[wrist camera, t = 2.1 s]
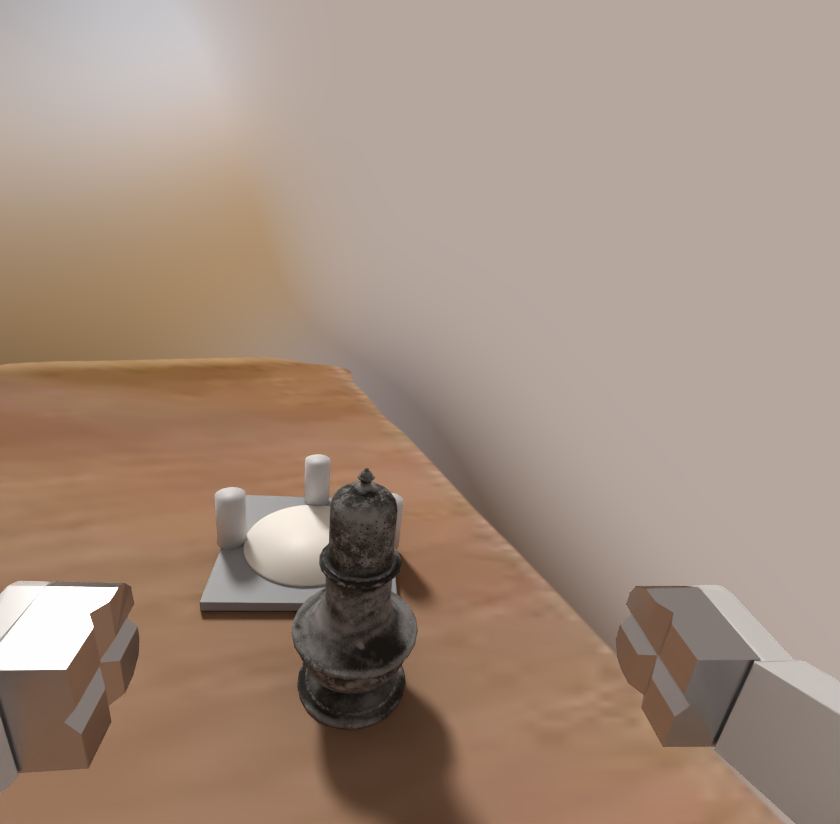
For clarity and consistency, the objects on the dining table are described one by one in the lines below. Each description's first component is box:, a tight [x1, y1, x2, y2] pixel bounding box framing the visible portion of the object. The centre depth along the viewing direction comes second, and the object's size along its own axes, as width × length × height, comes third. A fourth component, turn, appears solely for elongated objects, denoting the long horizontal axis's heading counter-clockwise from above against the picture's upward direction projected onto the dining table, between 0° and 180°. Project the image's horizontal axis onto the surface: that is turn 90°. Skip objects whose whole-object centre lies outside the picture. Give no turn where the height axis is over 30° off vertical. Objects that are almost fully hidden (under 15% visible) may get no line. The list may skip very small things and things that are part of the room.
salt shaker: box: [292, 468, 418, 729], centre depth 23 cm, size 6×6×12 cm
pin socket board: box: [200, 454, 403, 611], centre depth 34 cm, size 12×11×4 cm
